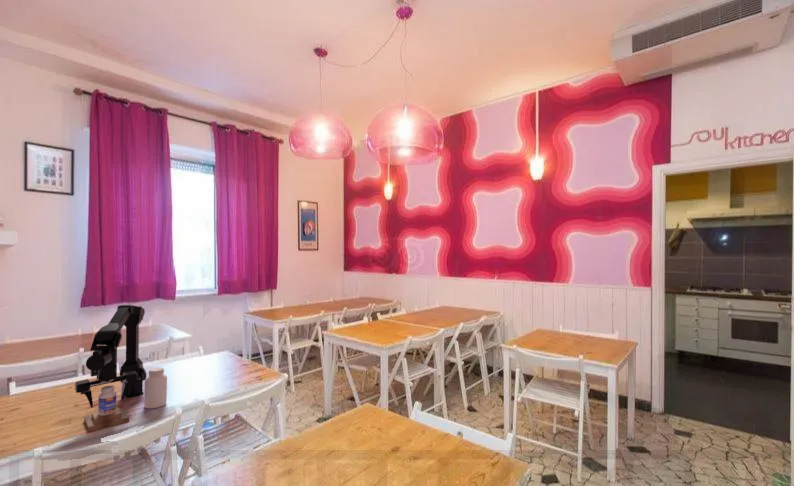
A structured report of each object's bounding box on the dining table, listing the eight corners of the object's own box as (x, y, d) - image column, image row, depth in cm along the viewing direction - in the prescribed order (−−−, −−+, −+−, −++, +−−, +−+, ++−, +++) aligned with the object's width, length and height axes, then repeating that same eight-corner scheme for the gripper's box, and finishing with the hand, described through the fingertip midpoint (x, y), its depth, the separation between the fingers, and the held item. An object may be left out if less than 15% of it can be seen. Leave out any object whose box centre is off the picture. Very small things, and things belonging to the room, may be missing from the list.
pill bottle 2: (170, 403, 163) (171, 367, 163) (151, 410, 155) (152, 373, 155) (158, 400, 166) (159, 365, 166) (139, 407, 159) (140, 370, 159)
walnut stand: (122, 411, 154) (122, 403, 154) (129, 421, 146) (129, 413, 146) (84, 420, 146) (84, 412, 146) (88, 431, 137) (88, 423, 137)
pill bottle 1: (106, 416, 143) (107, 390, 143) (94, 415, 144) (95, 389, 144) (119, 410, 148) (120, 385, 148) (108, 409, 149) (108, 384, 149)
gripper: (132, 353, 158) (131, 391, 158) (73, 363, 145) (72, 404, 145) (138, 359, 150) (138, 399, 150) (76, 370, 137) (76, 413, 137)
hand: (107, 403), depth 146 cm, fingers open, 9 cm apart
